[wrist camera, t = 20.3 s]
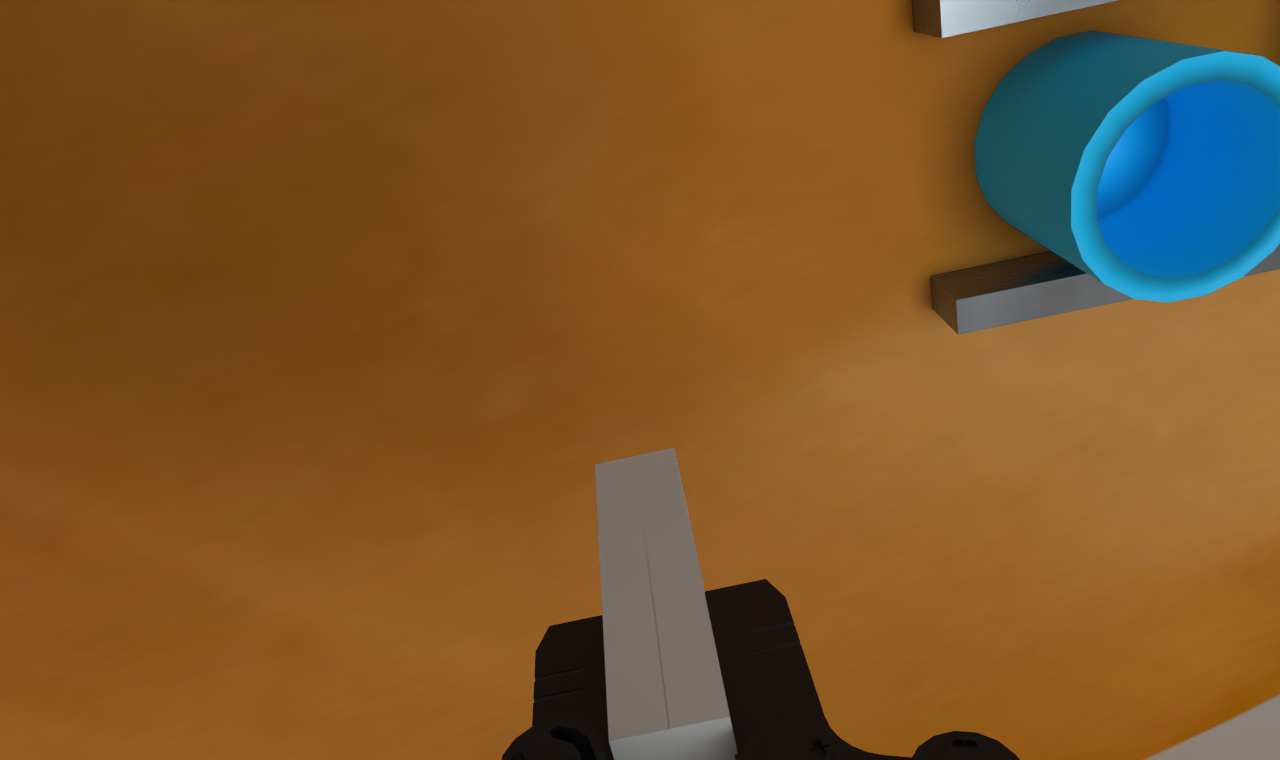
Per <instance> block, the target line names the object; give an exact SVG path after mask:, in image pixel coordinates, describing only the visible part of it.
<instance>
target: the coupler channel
mask: <svg viewBox="0 0 1280 760" xmlns="http://www.w3.org/2000/svg"><path fill="white" fill-rule="evenodd" d="M1113 1H1118V0H912V6H913V21H914V32H918V33H923V34H927V35H931V36H936V37H940V38H945V37H949V36H954V35H959V34H963V33H968V32H973V31H977V30H982V29H987V28H991V27H996V26H1001V25H1005V24H1010V23H1015V22H1020V21H1024V20H1029V19H1034V18H1038V17H1043V16H1048V15H1052V14H1057V13H1062V12H1066V11H1071V10H1076V9H1080V8H1085V7H1090V6H1094V5H1099V4H1104V3H1108V2H1113ZM1277 269H1280V244H1279V245H1278V246H1277V248H1276V249H1275V250H1274V251H1273V252H1272V253H1271V254H1270V255H1268V256H1267V257H1266V258H1265V259H1264V260H1262V261H1261V262H1260V263H1259V264H1257V265H1256V266H1255V267H1254V268H1253V269H1251V270H1250V271H1249V272H1248V273H1247V274H1245V275H1244V276H1248V275H1253V274H1257V273H1262V272H1267V271H1272V270H1277ZM930 278H931V293H932V308H933V310H934V311H935V312H936V313H937V314H938V315H939V316H940V317H941V318H942V319H943V320H944V321H945V322H946V323H947V324H948V325H949V326H950V327H951V328H952V329H953V330H954V331H955V332H956V333H957V334H963V333H968V332H973V331H978V330H983V329H988V328H993V327H997V326H1002V325H1007V324H1012V323H1017V322H1022V321H1027V320H1032V319H1037V318H1042V317H1047V316H1051V315H1056V314H1061V313H1066V312H1071V311H1076V310H1081V309H1086V308H1091V307H1096V306H1100V305H1105V304H1110V303H1115V302H1120V301H1125V300H1130V299H1133V298H1131V297H1129V296H1127V295H1125V294H1123V293H1121V292H1119V291H1117V290H1115V289H1113V288H1111V287H1109V286H1107V285H1105V284H1103V283H1101V282H1100V281H1098V280H1097V279H1095V278H1094V277H1092V276H1090V275H1089V274H1087V273H1086V272H1084V271H1082V270H1081V269H1079V268H1078V267H1076V266H1075V265H1073V264H1071V263H1070V262H1068V261H1067V260H1065V259H1064V258H1062V257H1060V256H1059V255H1057V254H1056V253H1054V252H1052V251H1051V252H1046V253H1041V254H1037V255H1032V256H1027V257H1022V258H1017V259H1012V260H1007V261H1003V262H998V263H993V264H988V265H983V266H978V267H973V268H969V269H964V270H959V271H954V272H949V273H944V274H940V275H935V276H930Z"/></svg>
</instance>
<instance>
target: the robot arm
mask: <svg viewBox="0 0 1280 760" xmlns="http://www.w3.org/2000/svg"><path fill="white" fill-rule="evenodd" d="M595 472H596V492H597V512H598V532H599V553H600V573H601V593H602V614H603V615H601V616H596V617H591V618H586V619H581V620H576V621H572V622H567V623H562V624H557V625H552V626H549V628H548V630H547V632H546V634H545V635H544V637H543V639H542V641H541V643H540V645H539V646H538V648H537V650H536V658H535V682H534V703H533V722H532V727H531V728H530V729H528V730H527V731H526V732H524V733H523V734H521V735H520V736H519V737H517V738H516V739H515V740H514V741H513V742H512V744H511V745H510V746H509V748H508V749H507V750H506V752H505V753H504V754H503V757H502V760H1020V759H1019V758H1018V757H1017V756H1016V755H1015V754H1014V753H1013V752H1011V751H1010V750H1009V749H1008V748H1006V747H1005V746H1004V745H1003V744H1001V743H1000V742H999V741H997V740H995V739H992V738H989V737H987V736H984V735H981V734H979V733H974V732H961V731H952V732H948V733H944V734H940V735H936V736H933V737H932V738H930V739H929V740H927V741H926V742H924V743H923V744H922V745H920V746H919V747H918V748H917V750H916V752H915V754H914V755H913V757H912V758H910V757H898V756H886V755H879V754H874V753H868V752H865V751H863V750H860V749H858V748H855V747H853V746H851V745H850V744H848V743H847V742H845V741H844V740H842V739H841V738H839V737H838V736H837V734H836V733H835V732H834V731H833V730H832V729H831V728H830V726H829V724H828V722H827V720H826V718H825V716H824V713H823V710H822V707H821V704H820V701H819V698H818V695H817V692H816V689H815V686H814V683H813V680H812V677H811V674H810V671H809V668H808V665H807V661H806V658H805V655H804V652H803V649H802V646H801V644H800V640H799V637H798V634H797V631H796V628H795V626H794V622H793V619H792V616H791V613H790V610H789V607H788V604H787V601H786V598H785V596H783V595H782V594H781V593H780V592H779V591H778V590H777V589H776V588H775V587H774V586H773V585H772V584H770V583H769V582H768V581H767V580H766V579H764V580H759V581H754V582H749V583H744V584H740V585H735V586H730V587H725V588H720V589H715V590H711V591H706V592H705V588H704V584H703V579H702V574H701V569H700V564H699V560H698V555H697V551H696V546H695V541H694V537H693V532H692V527H691V523H690V518H689V513H688V509H687V504H686V500H685V495H684V490H683V486H682V481H681V476H680V472H679V467H678V463H677V458H676V453H675V449H674V448H671V449H666V450H661V451H657V452H652V453H647V454H642V455H638V456H633V457H628V458H624V459H619V460H614V461H609V462H605V463H600V464H595Z"/></svg>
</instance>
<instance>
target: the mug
mask: <svg viewBox="0 0 1280 760" xmlns="http://www.w3.org/2000/svg"><path fill="white" fill-rule="evenodd" d="M975 171H976V176H977V179H978V181H979V184H980V187H981V189H982V192H983V194H984V197H985V199H986V201H987V202H988V204H989V205H990V206H991V207H992V208H993V209H994V210H995V211H996V212H997V213H998V215H999V216H1000V217H1001V218H1002V219H1003V220H1004V221H1005V222H1007V223H1008V224H1010V225H1011V226H1013V227H1015V228H1016V229H1018V230H1019V231H1021V232H1022V233H1024V234H1026V235H1027V236H1029V237H1030V238H1032V239H1033V240H1035V241H1037V242H1038V243H1040V244H1041V245H1043V246H1045V247H1046V248H1048V249H1049V250H1051V251H1052V252H1054V253H1056V254H1057V255H1059V256H1060V257H1062V258H1064V259H1065V260H1067V261H1068V262H1070V263H1071V264H1073V265H1075V266H1076V267H1078V268H1079V269H1081V270H1082V271H1084V272H1086V273H1087V274H1089V275H1090V276H1092V277H1094V278H1095V279H1097V280H1098V281H1100V282H1101V283H1103V284H1105V285H1107V286H1109V287H1111V288H1113V289H1115V290H1117V291H1119V292H1121V293H1123V294H1125V295H1127V296H1129V297H1131V298H1133V299H1141V300H1151V301H1160V302H1173V301H1178V300H1183V299H1188V298H1193V297H1198V296H1203V295H1207V294H1209V293H1211V292H1213V291H1215V290H1217V289H1219V288H1221V287H1223V286H1225V285H1227V284H1229V283H1231V282H1233V281H1235V280H1237V279H1239V278H1242V277H1243V276H1244V275H1245V274H1247V273H1248V272H1249V271H1250V270H1251V269H1253V268H1254V267H1255V266H1256V265H1257V264H1259V263H1260V262H1261V261H1262V260H1264V259H1265V258H1266V257H1267V256H1268V255H1270V254H1271V253H1272V252H1273V251H1274V250H1275V249H1276V248H1277V246H1278V245H1279V244H1280V66H1278V65H1276V64H1275V63H1273V62H1271V61H1270V60H1268V59H1266V58H1265V57H1263V56H1257V55H1251V54H1244V53H1237V52H1231V51H1224V50H1218V49H1211V48H1204V47H1198V46H1191V45H1185V44H1178V43H1171V42H1165V41H1158V40H1152V39H1145V38H1138V37H1132V36H1125V35H1118V34H1111V33H1104V32H1096V31H1088V32H1083V33H1078V34H1074V35H1069V36H1064V37H1059V38H1057V39H1055V40H1053V41H1051V42H1050V43H1048V44H1046V45H1044V46H1042V47H1040V48H1039V49H1037V50H1035V51H1033V52H1031V53H1029V54H1028V55H1026V56H1025V57H1024V58H1023V59H1022V60H1021V61H1020V62H1019V63H1018V64H1017V65H1016V66H1015V67H1014V68H1013V69H1012V70H1011V71H1010V72H1009V73H1008V74H1007V75H1006V76H1005V77H1004V78H1003V79H1002V80H1001V81H1000V83H999V85H998V86H997V88H996V90H995V91H994V93H993V95H992V97H991V98H990V100H989V102H988V103H987V105H986V107H985V108H984V110H983V113H982V117H981V121H980V124H979V128H978V132H977V135H976V139H975Z"/></svg>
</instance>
